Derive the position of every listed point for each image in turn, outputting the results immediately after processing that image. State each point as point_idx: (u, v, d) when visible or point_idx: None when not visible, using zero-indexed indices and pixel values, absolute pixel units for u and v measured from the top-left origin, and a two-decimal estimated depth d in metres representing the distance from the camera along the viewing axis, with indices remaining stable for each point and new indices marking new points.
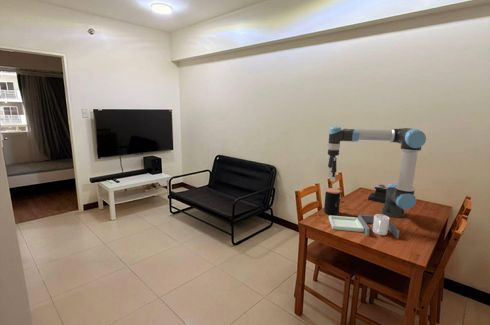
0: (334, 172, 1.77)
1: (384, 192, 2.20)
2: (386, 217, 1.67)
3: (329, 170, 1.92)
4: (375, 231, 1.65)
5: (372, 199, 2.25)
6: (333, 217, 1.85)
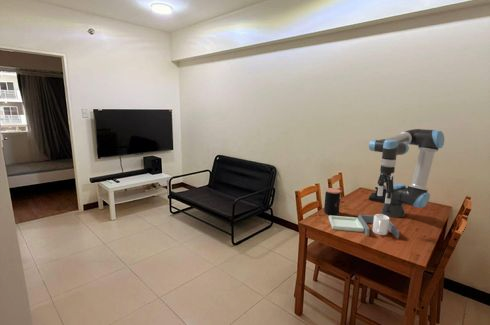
0: (390, 193, 1.52)
1: (385, 192, 2.20)
2: (386, 217, 1.67)
3: (379, 189, 1.67)
4: (375, 231, 1.65)
5: (373, 199, 2.24)
6: (333, 217, 1.85)
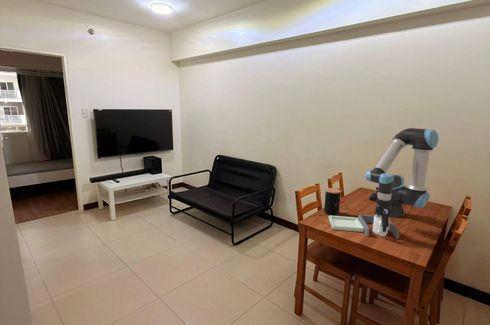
0: (385, 227, 1.57)
1: None
2: None
3: None
4: (375, 231, 1.65)
5: (373, 199, 2.24)
6: (333, 217, 1.85)
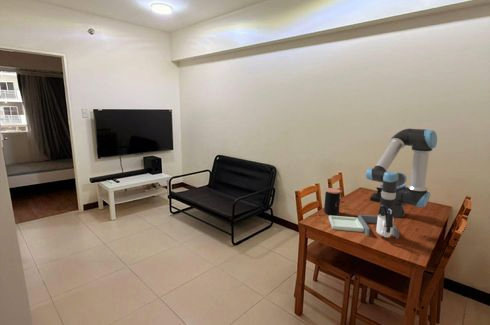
0: None
1: None
2: None
3: None
4: (379, 232, 1.58)
5: (374, 200, 2.23)
6: (333, 217, 1.85)
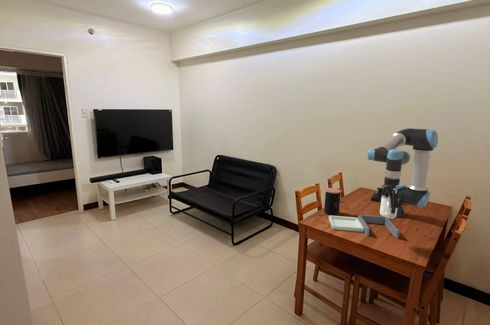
0: (394, 208, 1.43)
1: None
2: None
3: None
4: (383, 214, 1.50)
5: (375, 200, 2.23)
6: (333, 217, 1.85)
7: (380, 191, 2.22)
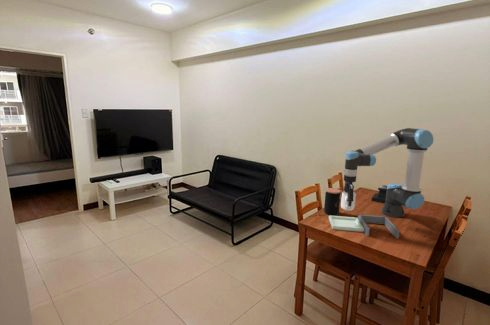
0: (351, 201, 1.66)
1: None
2: (353, 193, 1.75)
3: None
4: (342, 206, 1.74)
5: (375, 200, 2.23)
6: (333, 217, 1.85)
7: (381, 191, 2.21)
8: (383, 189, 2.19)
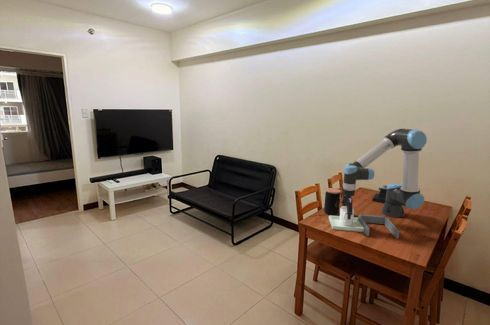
0: None
1: None
2: (352, 209, 1.77)
3: None
4: (341, 222, 1.76)
5: (376, 200, 2.22)
6: (333, 217, 1.85)
7: (382, 191, 2.21)
8: (384, 189, 2.19)
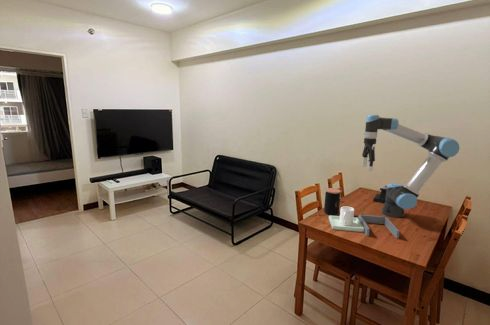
0: (372, 161, 1.71)
1: None
2: (352, 209, 1.77)
3: (364, 160, 1.86)
4: (341, 222, 1.76)
5: (377, 200, 2.21)
6: (333, 217, 1.85)
7: (383, 192, 2.20)
8: (385, 189, 2.18)
